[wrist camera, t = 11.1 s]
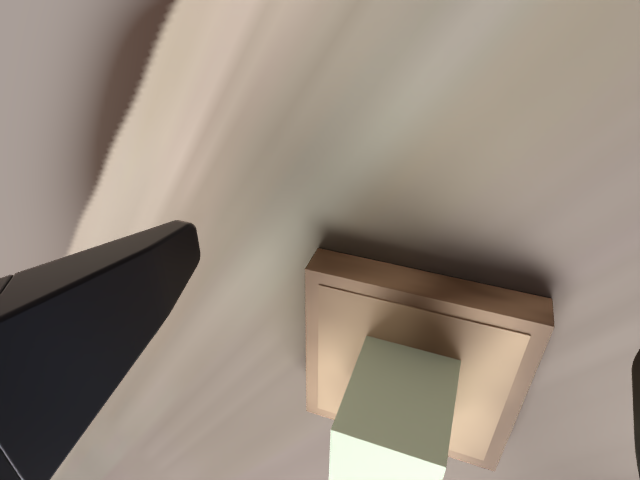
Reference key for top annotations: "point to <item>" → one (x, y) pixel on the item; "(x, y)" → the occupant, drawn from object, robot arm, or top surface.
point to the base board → (427, 340)
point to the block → (395, 415)
